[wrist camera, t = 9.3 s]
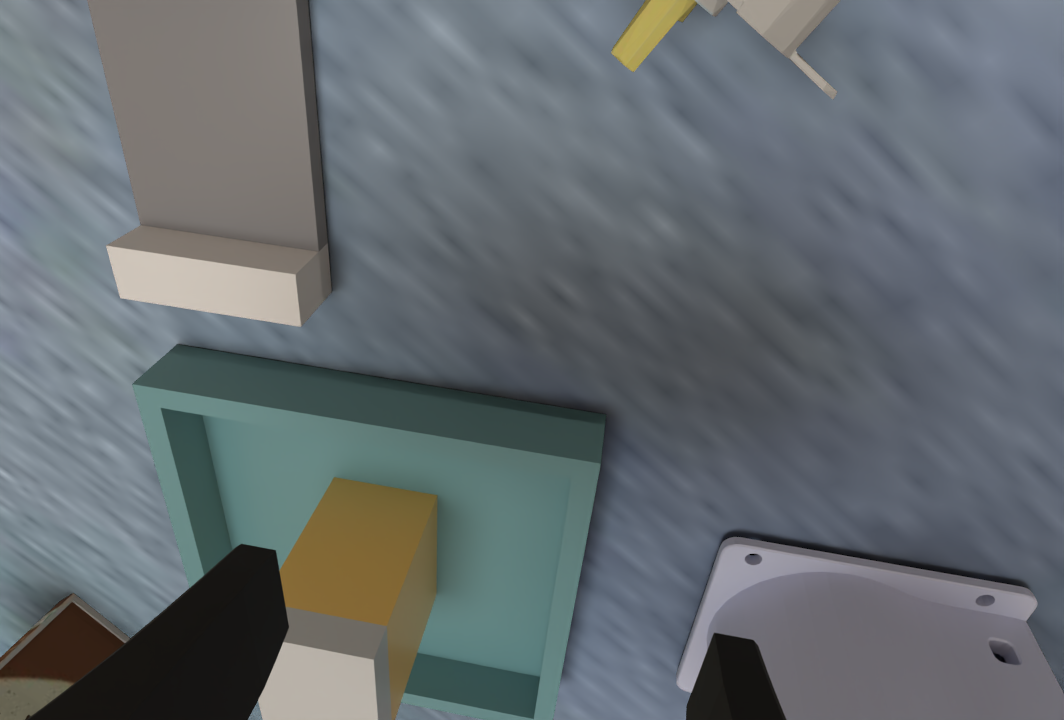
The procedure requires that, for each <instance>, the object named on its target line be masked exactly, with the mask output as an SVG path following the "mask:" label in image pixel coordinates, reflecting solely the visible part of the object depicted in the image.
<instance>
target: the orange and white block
mask: <svg viewBox="0 0 1064 720" xmlns="http://www.w3.org/2000/svg"><path fill="white" fill-rule="evenodd" d="M280 577H281V582H282V588H283V594H284V600H285V606H286V612H287V618H288V623H289V629H288V632H287V634H286V637H285V639H284V642H283V644H282V647H281V649H280V652H279V654H278V657H277V659H276V662H275V664H274V666H273V669H272V671H271V674H270V676H269V678H268V681H267V683H266V685H265V688H264V690H263V692H262V694H261V695H260V697H259V699H258V702H259V706H260V710H261V714H262V718H263V720H395V718H396V715H397V712H398V709H399V706H400V703H401V700H402V697H403V694H404V691H405V688H406V685H407V682H408V679H409V676H410V673H411V670H412V667H413V664H414V661H415V658H416V655H417V652H418V649H419V646H420V643H421V640H422V637H423V634H424V631H425V628H426V625H427V622H428V619H429V616H430V613H431V610H432V607H433V604H434V601H435V598H436V586H437V495H434V494H428V493H422V492H416V491H411V490H405V489H399V488H393V487H388V486H382V485H376V484H370V483H365V482H359V481H353V480H348V479H342V478H336V477H334V478H333V480H332V482H331V483H330V485H329V487H328V488H327V490H326V492H325V494H324V495H323V497H322V499H321V500H320V502H319V504H318V506H317V507H316V509H315V511H314V512H313V514H312V516H311V518H310V519H309V521H308V523H307V524H306V526H305V528H304V529H303V531H302V533H301V535H300V536H299V538H298V540H297V541H296V543H295V545H294V547H293V548H292V550H291V552H290V553H289V555H288V557H287V559H286V560H285V562H284V564H283V565H282V567H281V569H280Z"/></svg>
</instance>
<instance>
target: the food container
mask: <svg viewBox="0 0 1064 720" xmlns="http://www.w3.org/2000/svg"><path fill="white" fill-rule="evenodd" d="M129 639H130V638H129V637H128V636H127V635H125V634H124V633H123V632H122V631H120V630H119V629H118V628H117V627H115V626H114V625H113V624H112V623H110V622H109V621H108V620H107V619H105V618H104V617H103V616H102V615H100V614H99V613H98V612H97V611H95V610H94V609H93V608H92V607H90V606H89V605H88V604H87V603H85V602H84V601H83V600H82V599H80V598H79V597H78V596H77V595H75V594H74V593H73V594H71V595H69V596H68V597H66V598H64V599H63V600H61V601H60V602H59V603H58V604H57V605H56V606H54V607H53V608H52V609H51V610H50V611H49V612H48V613H47V614H46V615H45V616H44V617H43V618H42V619H41V620H40V621H39V622H38V623H36V624H35V625H34V626H33V627H32V628H31V629H30V630H29V631H28V632H27V633H26V634H25V635H24V636H23V637H22V638H21V639H20V640H19V641H17V642H16V643H15V644H14V645H13V646H12V647H11V648H10V649H9V650H8V651H7V652H6V653H5V654H4V655H3V656H2V657H1V658H0V720H26V719H28V718H29V717H30V716H32V715H33V714H35V713H36V712H37V711H39V710H40V709H41V708H43V707H44V706H45V705H47V704H48V703H49V702H51V701H52V700H53V699H55V698H56V697H57V696H59V695H60V694H61V693H63V692H64V691H65V690H66V689H68V688H69V687H70V686H72V685H73V684H74V683H75V682H77V681H78V680H79V679H81V678H82V677H83V676H84V675H86V674H87V673H88V672H90V671H91V670H92V669H93V668H95V667H96V666H97V665H99V664H100V663H101V662H102V661H104V660H105V659H106V658H107V657H109V656H110V655H111V654H112V653H114V652H115V651H116V650H117V649H119V648H120V647H121V646H122V645H123V644H124V643H126V642H127V641H128V640H129Z"/></svg>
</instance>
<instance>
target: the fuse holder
mask: <svg viewBox="0 0 1064 720" xmlns="http://www.w3.org/2000/svg"><path fill="white" fill-rule="evenodd" d="M87 1H88V5H89V9H90V14H91V18H92V22H93V26H94V30H95V35H96V39H97V43H98V47H99V51H100V56H101V60H102V64H103V68H104V72H105V77H106V81H107V85H108V89H109V93H110V98H111V102H112V106H113V110H114V114H115V119H116V123H117V127H118V131H119V135H120V140H121V144H122V148H123V152H124V157H125V161H126V165H127V169H128V173H129V178H130V182H131V186H132V190H133V194H134V199H135V203H136V207H137V211H138V215H139V220H140V224H141V225H140V226H139V227H137V228H135V229H134V230H132V231H130V232H129V233H127V234H125V235H123V236H122V237H120V238H118V239H117V240H115V241H113V242H112V243H110V244H108V245H106V247H107V251H108V254H109V258H110V262H111V265H112V269H113V273H114V276H115V280H116V284H117V287H118V291H119V295H120V298H123V299H130V300H136V301H142V302H148V303H155V304H161V305H167V306H174V307H180V308H186V309H192V310H199V311H205V312H211V313H218V314H224V315H230V316H236V317H243V318H249V319H255V320H262V321H268V322H274V323H280V324H287V325H293V326H299V327H301V326H302V325H303V324H304V323H305V322H306V321H307V320H308V319H309V317H310V316H311V315H312V314H313V313H314V312H315V311H316V309H317V308H318V307H319V306H320V305H321V304H322V303H323V301H324V300H325V299H326V298H327V297H328V296H329V295H330V294H331V292H332V288H331V276H330V264H329V251H328V239H327V227H326V215H325V202H324V190H323V178H322V166H321V153H320V141H319V129H318V117H317V104H316V92H315V80H314V68H313V55H312V43H311V31H310V19H309V7H308V0H87Z"/></svg>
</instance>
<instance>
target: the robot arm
mask: <svg viewBox="0 0 1064 720" xmlns="http://www.w3.org/2000/svg"><path fill="white" fill-rule="evenodd" d="M749 554H757V555H749ZM1036 607H1037V600H1036V598H1035V597H1034V595H1033V593H1032V592H1031V591H1030V590H1029V589H1027V588H1024V587H1021V586H1015V585H1009V584H1004V583H998V582H992V581H987V580H981V579H975V578H969V577H964V576H958V575H952V574H947V573H941V572H935V571H930V570H924V569H918V568H913V567H907V566H901V565H896V564H890V563H884V562H879V561H873V560H867V559H861V558H856V557H850V556H844V555H839V554H833V553H827V552H822V551H816V550H810V549H805V548H799V547H793V546H788V545H782V544H776V543H770V542H765V541H759V540H753V539H748V538H742V537H731V538H728V539H726V540H724V541H723V542H722V544H721V545H720V548H719V551H718V554H717V557H716V560H715V563H714V566H713V569H712V572H711V574H710V577H709V580H708V583H707V586H706V589H705V592H704V595H703V598H702V601H701V604H700V607H699V610H698V612H697V615H696V618H695V621H694V624H693V627H692V630H691V633H690V636H689V639H688V642H687V645H686V647H685V650H684V653H683V656H682V659H681V662H680V665H679V668H678V671H677V685H678V687H679V688H681V689H682V690H684V691H687V692H692V693H691V696H690V698H689V701H688V704H687V711H686V720H1064V693H1063V691H1062V689H1061V687H1060V685H1059V683H1058V681H1057V680H1056V678H1055V676H1054V674H1053V672H1052V670H1051V668H1050V666H1049V664H1048V662H1047V660H1046V658H1045V657H1044V655H1043V653H1042V651H1041V649H1040V647H1039V645H1038V643H1037V641H1036V639H1035V637H1034V635H1033V633H1032V632H1031V630H1030V628H1029V626H1028V624H1027V622H1026V621H1027V619H1028V618H1029V617H1030V616H1031V614H1032V613H1033V612H1034V610H1035V609H1036ZM288 629H289V623H288V618H287V612H286V606H285V600H284V594H283V588H282V582H281V577H280V571H279V565H278V559H277V553H276V550H273V549H267V548H262V547H257V546H251V545H246V544H240V545H238V546H237V547H235V548H234V549H233V550H232V551H231V552H230V553H229V554H227V555H226V556H225V557H224V558H223V559H222V560H221V561H220V562H218V563H217V564H216V565H215V566H214V567H213V568H212V569H211V570H209V571H208V572H207V573H206V574H205V575H204V576H203V577H202V578H200V579H199V580H198V581H197V582H196V583H195V584H194V585H192V586H191V587H190V588H189V589H188V590H187V591H186V592H185V593H183V594H182V595H181V596H180V597H179V598H178V599H176V600H175V601H174V602H173V603H172V604H171V605H170V606H168V607H167V608H166V609H165V610H164V611H163V612H162V613H160V614H159V615H158V616H157V617H156V618H154V619H153V620H152V621H151V622H150V623H148V624H147V625H146V626H145V627H144V628H142V629H141V630H140V631H139V632H138V633H136V634H135V635H134V636H133V637H132V638H130V639H129V640H128V641H127V642H126V643H124V644H123V645H122V646H121V647H120V648H119V649H117V650H116V651H115V652H114V653H112V654H111V655H110V656H109V657H107V658H106V659H105V660H104V661H102V662H101V663H100V664H99V665H97V666H96V667H95V668H93V669H92V670H91V671H90V672H88V673H87V674H86V675H84V676H83V677H82V678H81V679H79V680H78V681H77V682H75V683H74V684H73V685H72V686H70V687H69V688H68V689H66V690H65V691H64V692H63V693H61V694H60V695H59V696H57V697H56V698H55V699H53V700H52V701H51V702H49V703H48V704H47V705H45V706H44V707H43V708H41V709H40V710H39V711H37V712H36V713H35V714H33V715H32V716H30V717H29V718H28V719H26V720H248V718H249V716H250V714H251V712H252V710H253V709H254V707H255V705H256V703H257V701H258V699H259V697H260V695H261V694H262V692H263V690H264V688H265V685H266V683H267V681H268V678H269V676H270V674H271V671H272V669H273V666H274V664H275V662H276V659H277V657H278V654H279V652H280V649H281V647H282V644H283V642H284V639H285V637H286V634H287V632H288Z"/></svg>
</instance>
